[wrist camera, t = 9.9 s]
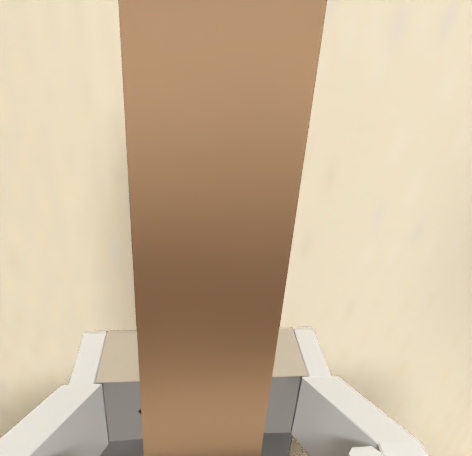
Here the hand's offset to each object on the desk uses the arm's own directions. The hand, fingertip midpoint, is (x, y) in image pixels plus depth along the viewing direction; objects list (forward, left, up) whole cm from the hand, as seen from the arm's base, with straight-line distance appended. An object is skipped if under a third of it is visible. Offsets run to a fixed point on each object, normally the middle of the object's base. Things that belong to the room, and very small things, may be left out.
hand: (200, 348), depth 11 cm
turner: (0, +1, -2) cm, 2 cm away
